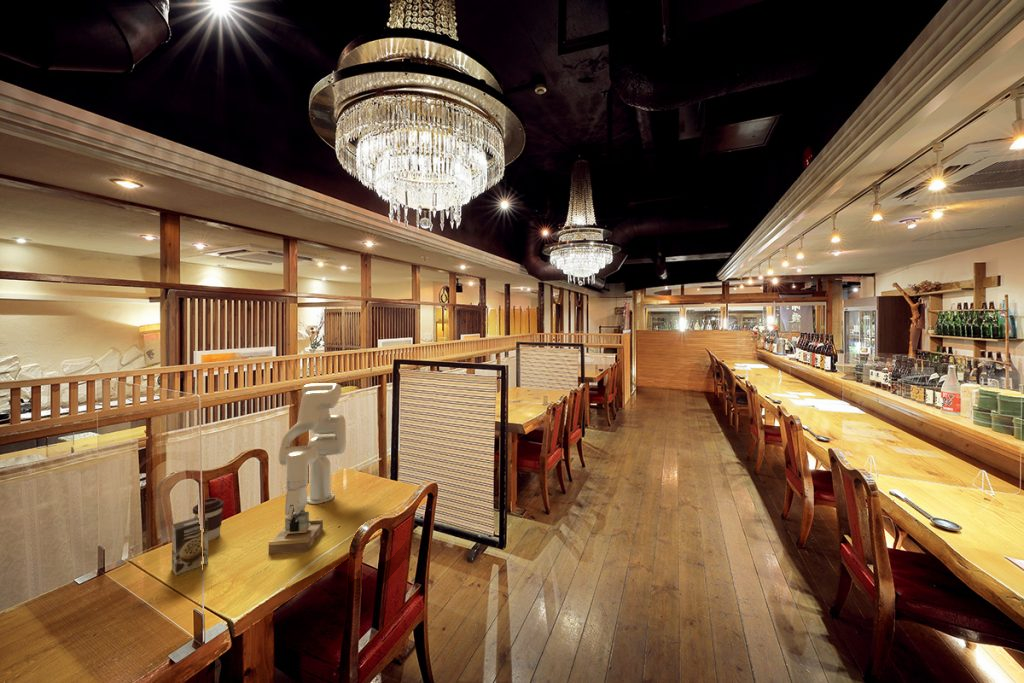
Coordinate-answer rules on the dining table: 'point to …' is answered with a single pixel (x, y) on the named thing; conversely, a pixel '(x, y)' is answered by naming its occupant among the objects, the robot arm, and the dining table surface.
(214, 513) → the coffee cup
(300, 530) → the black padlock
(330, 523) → the dining table surface
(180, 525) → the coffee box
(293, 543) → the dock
